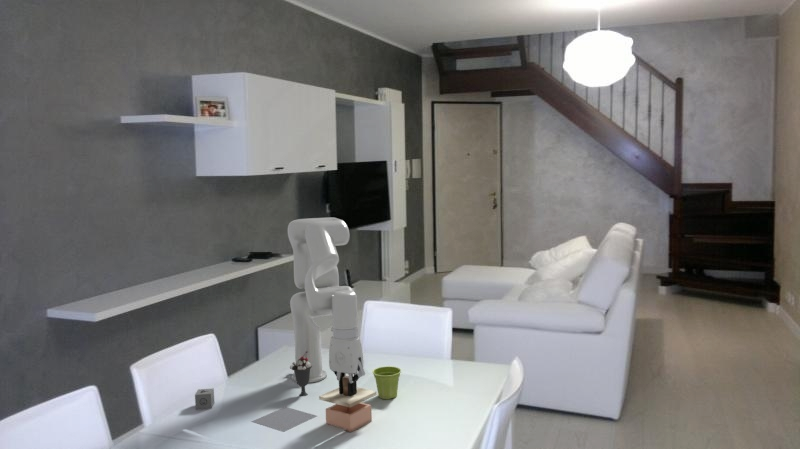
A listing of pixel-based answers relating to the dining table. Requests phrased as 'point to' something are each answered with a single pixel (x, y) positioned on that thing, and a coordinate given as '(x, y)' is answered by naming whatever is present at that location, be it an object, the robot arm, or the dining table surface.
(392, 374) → the plant pot
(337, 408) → the salmon pink open box
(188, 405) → the dining table surface
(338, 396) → the wooden lid with knob
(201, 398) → the dice cube
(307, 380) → the sundae
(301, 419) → the mat
